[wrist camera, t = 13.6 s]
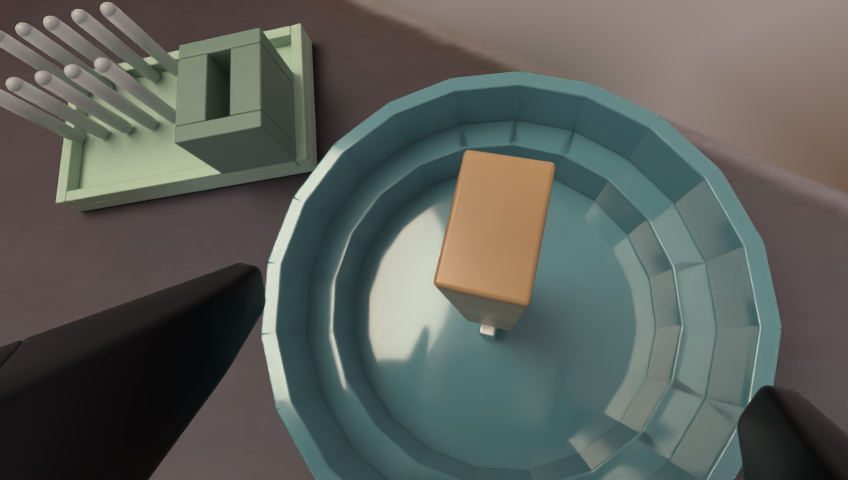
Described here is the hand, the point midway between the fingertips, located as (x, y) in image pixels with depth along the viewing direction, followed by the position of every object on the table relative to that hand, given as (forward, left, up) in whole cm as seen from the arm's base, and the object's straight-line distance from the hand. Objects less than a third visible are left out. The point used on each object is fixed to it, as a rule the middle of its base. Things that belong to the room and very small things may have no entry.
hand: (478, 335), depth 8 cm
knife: (+1, +1, -11) cm, 11 cm away
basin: (+1, +1, -11) cm, 12 cm away
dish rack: (0, +20, -11) cm, 23 cm away
